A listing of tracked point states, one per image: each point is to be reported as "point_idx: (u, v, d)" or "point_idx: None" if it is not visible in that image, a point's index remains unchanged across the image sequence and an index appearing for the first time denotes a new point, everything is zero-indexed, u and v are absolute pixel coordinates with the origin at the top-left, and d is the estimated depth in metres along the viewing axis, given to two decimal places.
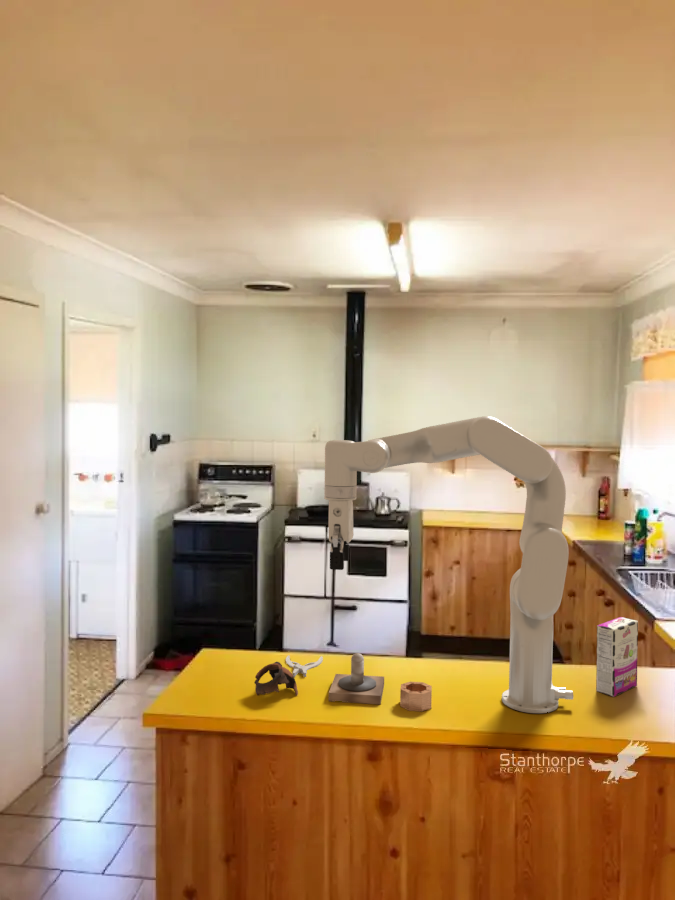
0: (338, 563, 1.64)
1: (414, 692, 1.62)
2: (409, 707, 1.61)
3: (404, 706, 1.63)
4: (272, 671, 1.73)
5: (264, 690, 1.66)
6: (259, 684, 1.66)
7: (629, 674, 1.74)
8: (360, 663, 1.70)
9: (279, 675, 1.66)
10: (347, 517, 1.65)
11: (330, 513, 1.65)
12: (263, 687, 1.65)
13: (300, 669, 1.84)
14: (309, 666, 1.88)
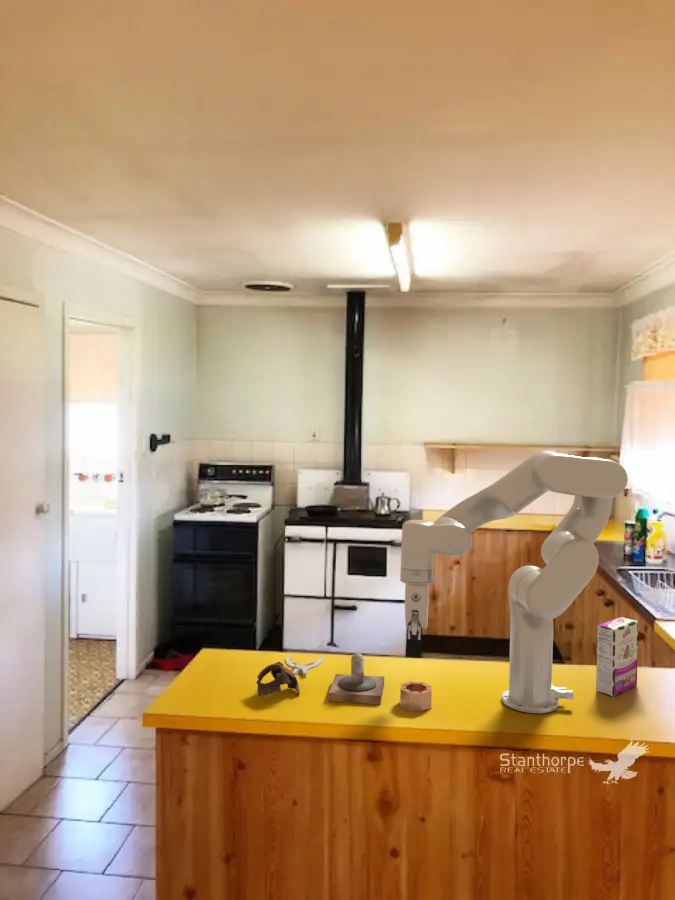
0: (415, 651, 1.58)
1: (414, 692, 1.62)
2: (409, 707, 1.61)
3: (404, 706, 1.63)
4: (274, 671, 1.73)
5: (266, 691, 1.65)
6: (261, 684, 1.66)
7: (629, 674, 1.74)
8: (360, 663, 1.70)
9: (281, 675, 1.66)
10: (426, 603, 1.58)
11: (408, 598, 1.59)
12: (266, 687, 1.65)
13: (300, 669, 1.84)
14: (309, 667, 1.87)
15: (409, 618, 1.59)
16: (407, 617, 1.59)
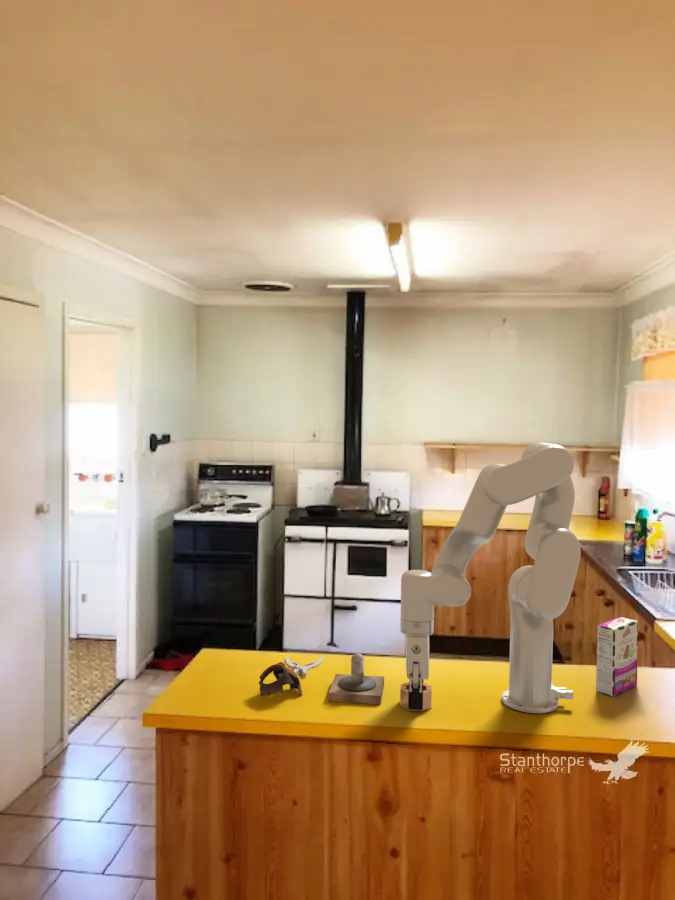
0: (417, 703, 1.60)
1: None
2: None
3: (404, 706, 1.63)
4: (276, 672, 1.73)
5: (269, 691, 1.65)
6: (264, 685, 1.66)
7: (629, 674, 1.74)
8: (360, 663, 1.70)
9: (284, 675, 1.66)
10: (426, 654, 1.59)
11: (408, 650, 1.60)
12: (268, 687, 1.65)
13: (300, 669, 1.84)
14: (309, 667, 1.87)
15: (410, 670, 1.59)
16: (408, 669, 1.60)
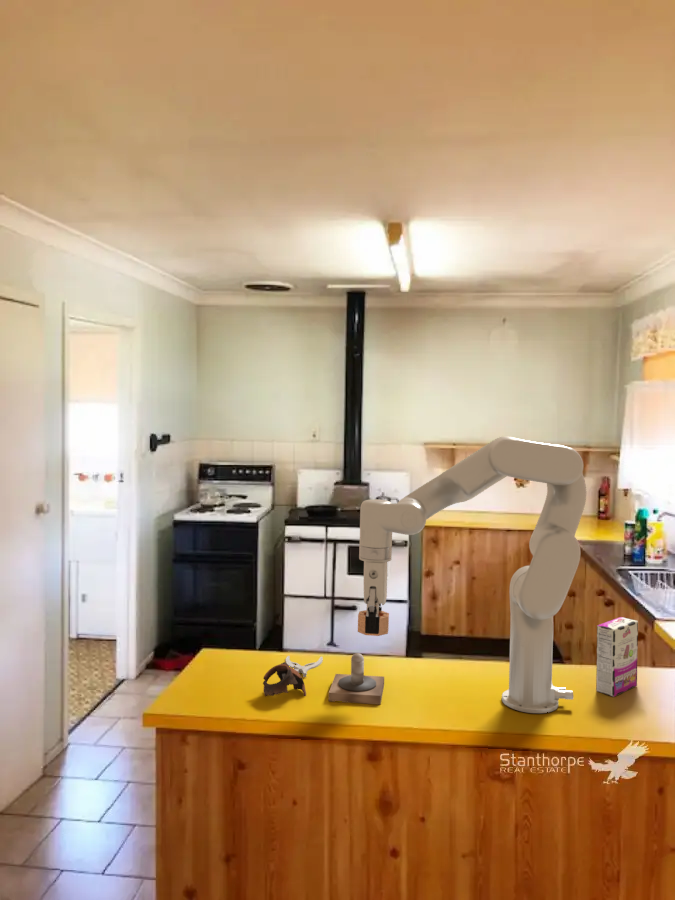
0: (374, 627, 1.64)
1: None
2: None
3: (361, 631, 1.67)
4: (280, 672, 1.72)
5: (273, 691, 1.65)
6: (268, 685, 1.65)
7: (629, 674, 1.74)
8: (360, 663, 1.70)
9: (288, 676, 1.66)
10: (383, 579, 1.63)
11: (366, 575, 1.64)
12: (272, 688, 1.65)
13: (300, 669, 1.84)
14: (309, 667, 1.87)
15: (367, 594, 1.63)
16: (365, 593, 1.63)
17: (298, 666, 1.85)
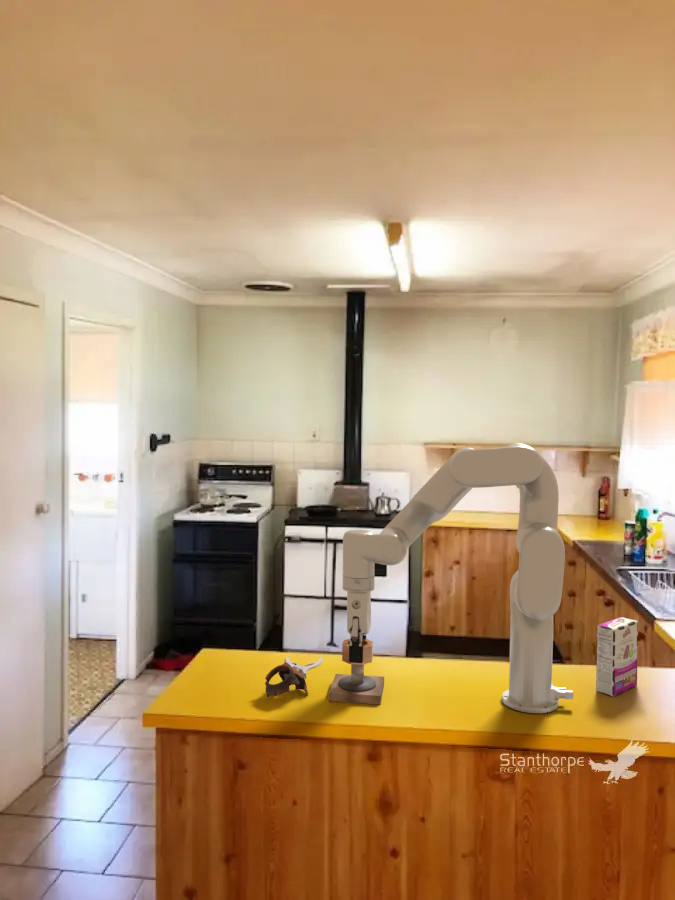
0: (357, 657, 1.66)
1: None
2: None
3: (345, 660, 1.69)
4: (282, 672, 1.72)
5: (275, 692, 1.65)
6: (270, 685, 1.65)
7: (629, 674, 1.74)
8: None
9: (290, 676, 1.65)
10: (366, 609, 1.66)
11: (349, 605, 1.66)
12: (275, 688, 1.65)
13: (300, 669, 1.84)
14: (309, 667, 1.87)
15: (350, 624, 1.66)
16: (348, 623, 1.66)
17: (298, 666, 1.85)
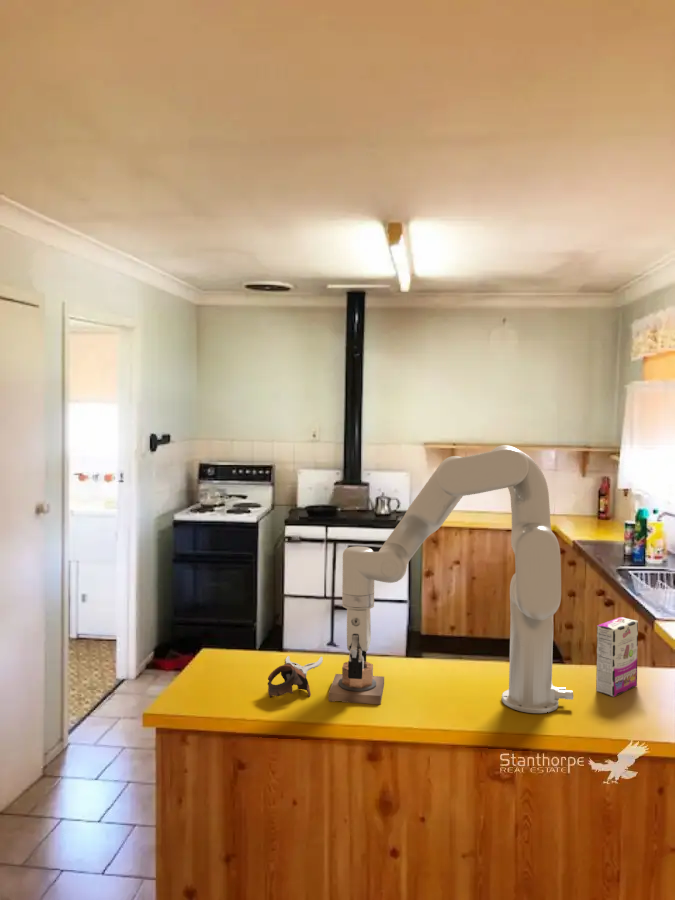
0: (357, 673, 1.65)
1: None
2: (350, 684, 1.68)
3: (345, 683, 1.69)
4: (284, 672, 1.72)
5: (278, 692, 1.65)
6: (273, 686, 1.65)
7: (629, 674, 1.74)
8: None
9: (293, 676, 1.65)
10: (365, 627, 1.66)
11: (348, 622, 1.66)
12: (277, 688, 1.65)
13: (300, 670, 1.84)
14: (309, 667, 1.87)
15: (350, 642, 1.66)
16: (348, 641, 1.66)
17: (298, 666, 1.85)
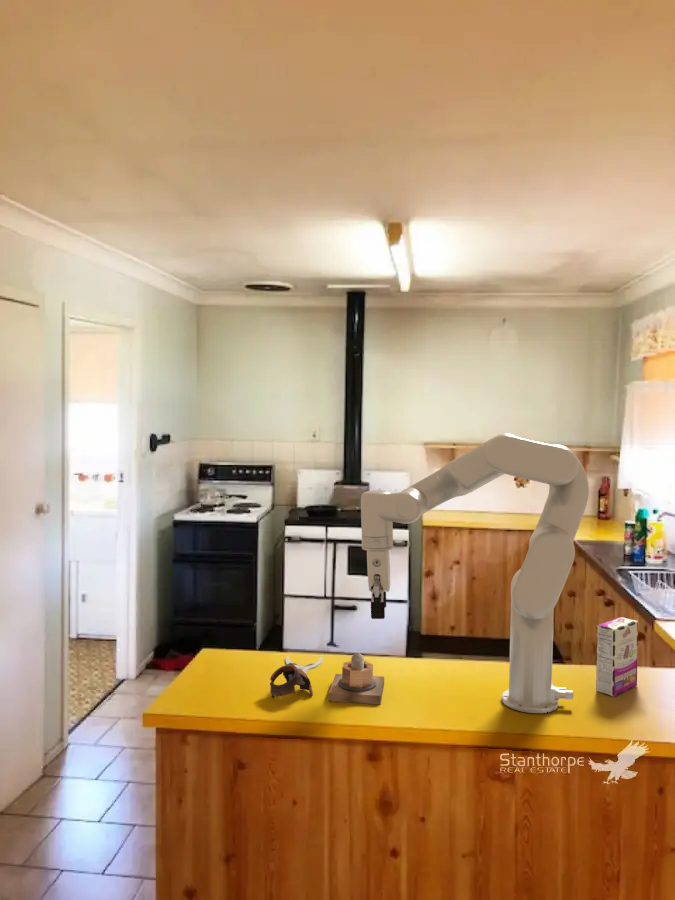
0: (379, 612, 1.68)
1: (355, 670, 1.68)
2: (350, 684, 1.68)
3: (345, 683, 1.69)
4: (286, 673, 1.72)
5: (280, 692, 1.65)
6: (275, 686, 1.65)
7: (629, 674, 1.74)
8: (360, 663, 1.70)
9: (295, 676, 1.65)
10: (386, 567, 1.68)
11: (369, 564, 1.69)
12: (280, 688, 1.64)
13: None
14: (309, 667, 1.87)
15: (372, 582, 1.69)
16: (370, 581, 1.69)
17: (298, 666, 1.85)
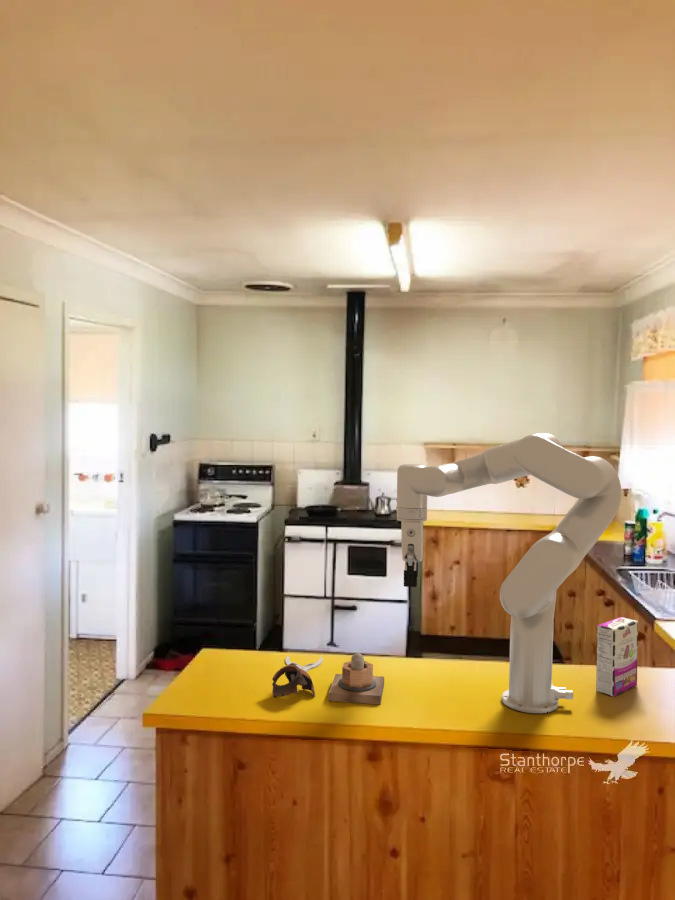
0: (412, 581, 1.75)
1: (355, 670, 1.68)
2: (350, 684, 1.68)
3: (345, 683, 1.69)
4: (288, 673, 1.72)
5: (283, 692, 1.64)
6: (277, 686, 1.65)
7: (629, 674, 1.74)
8: (360, 663, 1.70)
9: (298, 677, 1.65)
10: (420, 537, 1.75)
11: (404, 533, 1.75)
12: (282, 689, 1.64)
13: None
14: (309, 667, 1.87)
15: (405, 551, 1.75)
16: (403, 551, 1.75)
17: (298, 666, 1.85)
